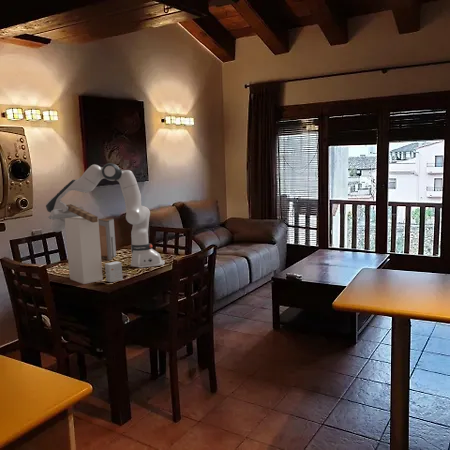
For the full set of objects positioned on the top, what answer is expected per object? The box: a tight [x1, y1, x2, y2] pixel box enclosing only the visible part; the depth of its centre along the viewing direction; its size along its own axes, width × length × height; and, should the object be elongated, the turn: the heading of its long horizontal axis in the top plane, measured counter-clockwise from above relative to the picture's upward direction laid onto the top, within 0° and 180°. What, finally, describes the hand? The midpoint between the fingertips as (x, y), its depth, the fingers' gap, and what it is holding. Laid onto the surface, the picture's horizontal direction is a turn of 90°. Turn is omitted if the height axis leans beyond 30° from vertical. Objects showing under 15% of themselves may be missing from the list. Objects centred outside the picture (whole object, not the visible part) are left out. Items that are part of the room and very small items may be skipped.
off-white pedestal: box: [64, 216, 104, 285], centre depth 278 cm, size 18×12×37 cm, turn 44°
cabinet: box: [98, 218, 117, 262], centre depth 339 cm, size 21×10×28 cm, turn 36°
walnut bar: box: [66, 203, 99, 222], centre depth 274 cm, size 32×3×3 cm, turn 44°
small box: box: [104, 260, 124, 283], centre depth 275 cm, size 8×6×10 cm
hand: (71, 207), depth 282 cm, fingers closed on walnut bar, 3 cm apart
